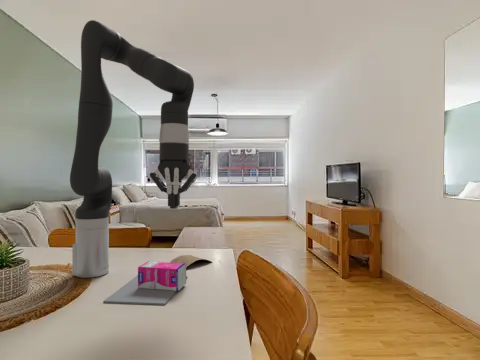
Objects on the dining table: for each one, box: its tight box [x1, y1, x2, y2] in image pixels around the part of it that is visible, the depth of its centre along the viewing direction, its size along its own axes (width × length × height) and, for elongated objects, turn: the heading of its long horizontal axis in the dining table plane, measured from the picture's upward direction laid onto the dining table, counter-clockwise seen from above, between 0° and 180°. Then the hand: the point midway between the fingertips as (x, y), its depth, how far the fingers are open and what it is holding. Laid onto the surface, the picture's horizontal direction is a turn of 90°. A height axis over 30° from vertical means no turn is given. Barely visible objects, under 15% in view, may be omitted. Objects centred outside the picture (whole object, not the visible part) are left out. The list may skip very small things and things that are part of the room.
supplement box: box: [137, 260, 187, 292], centre depth 84 cm, size 6×6×12 cm
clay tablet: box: [169, 254, 212, 268], centre depth 108 cm, size 14×10×3 cm
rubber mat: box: [102, 274, 188, 306], centre depth 83 cm, size 15×20×1 cm
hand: (173, 208), depth 82 cm, fingers closed
